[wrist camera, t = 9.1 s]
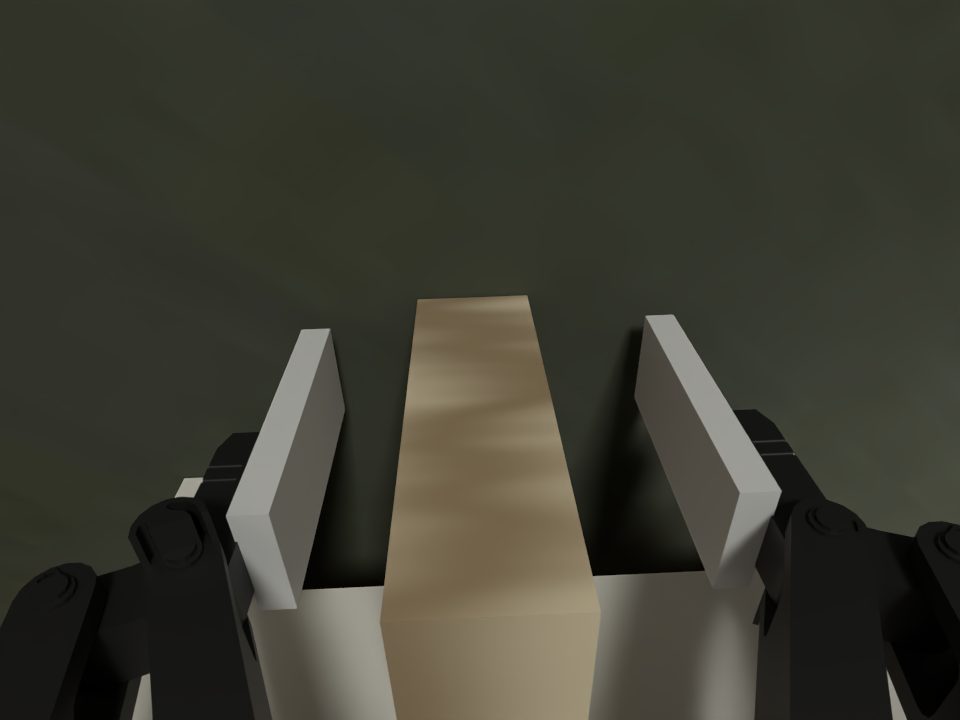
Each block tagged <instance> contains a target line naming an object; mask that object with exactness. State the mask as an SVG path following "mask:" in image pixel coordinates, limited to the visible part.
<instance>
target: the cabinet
mask: <svg viewBox="0 0 960 720" xmlns="http://www.w3.org/2000/svg"><path fill="white" fill-rule="evenodd" d="M793 454H794V453H793ZM202 482H203V478H184V480H183V482H182V484H181V486H180V488H179V490H178V492H177V494H176V496H175V498H176V497H194V496H195V494H196V492H197V490H198V488H199V486H200V483H202ZM593 580H594V584H595V588H596V593H597V597H598V601H599V605H600V610H601V616H600V624H599V633H598V641H597V650H596V658H595V667H594V675H593V683H592V692H591V700H590V709H589V717H588V720H754V717H755V698H756V678H757V659H758V640H759V625H755V624H752V623H753V620H754V617H755V614H756V611H757V609H758V606H759V603H760V600H761V597H762V595H763V592H764V589H765V586H764V583H763V581H762V579H761V577H760V575H759V573H758V571H757V569H755V572H754V575H753V578H752V581H751V584H750V587H742V588H721V589H713V588H712V586H711V583H710V581H709V578H708V576H707V574H706V571H693V572H672V573H651V574H630V575H608V576H593ZM383 591H384V586H374V587H353V588H332V589H311V590H302V591H301V595H300V599H299V604H298V608H297V609H279V610H259V607H258V604H257V602H256V599H255V596H254V594H253V597H252V601H251V604H250V607H249V610H248V613H247V614H248V617H249V620H250V622H251V625H252V629H253V634H254V638H255V643H256V647H257V652H258V657H259V661H260V666H261V670H262V675H263V679H264V684H265V688H266V693H267V697H268V702H269V706H270V711H271V716H272V720H397V718H396V712H395V707H394V701H393V695H392V689H391V684H390V678H389V672H388V666H387V661H386V655H385V649H384V643H383V638H382V632H381V626H380V616H381V608H382V599H383ZM887 677H888V685H889V693H890V700H891V708H892V716H893V720H907V719H906V716H905V714H904V711H903V709H902V706H901V704H900V701H899V699H898V696H897V694H896V691H895V689H894V686H893V684H892V681H891V679H890V676H889V674H888V671H887ZM132 720H153V717H152V701H151V684H150V674H147V675H144V676H142V678H141V683H140V687H139V691H138V696H137V700H136V704H135V709H134V713H133V718H132Z"/></svg>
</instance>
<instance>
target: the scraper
mask: <svg viewBox="0 0 960 720" xmlns="http://www.w3.org/2000/svg"><path fill="white" fill-rule="evenodd" d="M600 616H601V610H600V605H599V601H598V597H597V593H596V588H595V584H594V580H593V575H592V571H591V567H590V563H589V558H588V554H587V550H586V545H585V541H584V537H583V533H582V528H581V524H580V520H579V515H578V511H577V507H576V503H575V498H574V494H573V490H572V485H571V481H570V477H569V473H568V468H567V464H566V460H565V455H564V451H563V447H562V443H561V438H560V434H559V430H558V425H557V421H556V417H555V413H554V408H553V404H552V400H551V395H550V391H549V387H548V383H547V378H546V374H545V370H544V365H543V361H542V357H541V353H540V348H539V344H538V340H537V335H536V331H535V327H534V323H533V318H532V314H531V310H530V305H529V301H528V297H527V295H525V296H499V297H473V298H447V299H421V300H418V301H417V309H416V318H415V327H414V335H413V344H412V352H411V361H410V369H409V378H408V386H407V395H406V403H405V412H404V420H403V429H402V437H401V446H400V454H399V463H398V471H397V480H396V488H395V497H394V506H393V514H392V523H391V531H390V540H389V548H388V557H387V565H386V574H385V582H384V591H383V599H382V608H381V616H380V626H381V632H382V638H383V643H384V649H385V655H386V661H387V666H388V672H389V678H390V684H391V689H392V695H393V701H394V707H395V712H396V718H397V720H588V717H589V709H590V700H591V692H592V683H593V675H594V667H595V658H596V650H597V641H598V633H599V624H600Z"/></svg>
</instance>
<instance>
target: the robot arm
mask: <svg viewBox="0 0 960 720" xmlns="http://www.w3.org/2000/svg"><path fill="white" fill-rule="evenodd" d="M634 398H635V400H636V403H637V405H638V408H639V410H640V413H641V415H642V418H643V420H644V422H645V425H646V427H647V430H648V432H649V435H650V437H651V440H652V442H653V444H654V447H655V449H656V452H657V454H658V457H659V459H660V461H661V464H662V466H663V469H664V471H665V474H666V476H667V479H668V481H669V483H670V486H671V488H672V491H673V493H674V496H675V498H676V500H677V503H678V505H679V508H680V510H681V513H682V515H683V518H684V520H685V522H686V525H687V527H688V530H689V532H690V535H691V537H692V539H693V542H694V544H695V547H696V549H697V552H698V554H699V557H700V559H701V561H702V564H703V566H704V569H705V571H706V574H707V576H708V578H709V581H710V583H711V586H712V588H713V589H721V588H742V587H750V584H751V581H752V578H753V575H754V572H755V569H757V571H758V573H759V575H760V577H761V579H762V581H763V583H764V586H765V589H764V592H763V595H762V597H761V600H760V603H759V606H758V609H757V611H756V614H755V617H754V620H753V623H752V624H755V625H759V640H758V659H757V678H756V698H755V717H754V720H893V716H892V708H891V700H890V693H889V685H888V677H887V671H888V674H889V676H890V679H891V681H892V684H893V686H894V689H895V691H896V694H897V696H898V699H899V701H900V704H901V706H902V709H903V711H904V714H905V716H906V719H907V720H960V525H957V524H952V523H948V522H943V521H940V522H928V523H926V524H924V525H922V526H920V527H919V529H918V531H917V533H916V535H915V537H909V536H904V535H899V534H894V533H889V532H884V531H879V530H875V529H871V528H867V527H866V525H865V523H864V522H863V521H862V520H861V519H860V518H859V517H858V516H857V515H856V514H855V513H854V512H852V511H851V510H849V509H847V508H846V507H844V506H843V505H840V504H837V503H834V502H832V501H829V500H826V498H825V497H824V495H823V494H822V492H821V491H820V489H819V488H818V486H817V485H816V484H815V482H814V481H813V479H812V478H811V476H810V475H809V473H808V472H807V470H806V469H805V468H804V466H803V465H802V463H801V462H800V460H799V459H798V457H797V456H796V455H794V454H793V450H792V449H791V447H790V446H789V444H788V443H787V442H785V438H784V437H783V436H782V434H781V433H780V431H779V430H778V428H777V427H776V425H775V424H774V423H773V422H772V421H770V420H769V419H768V418H766V417H765V416H764V415H762V414H761V413H760V412H758V411H757V410H756V409H755V410H732V409H731V408H730V406H729V404H728V403H727V401H726V400H725V398H724V396H723V395H722V393H721V391H720V390H719V388H718V387H717V385H716V383H715V382H714V380H713V378H712V377H711V375H710V374H709V372H708V370H707V369H706V367H705V365H704V364H703V362H702V361H701V359H700V357H699V356H698V354H697V352H696V351H695V349H694V348H693V346H692V344H691V343H690V341H689V339H688V338H687V336H686V335H685V333H684V331H683V330H682V328H681V326H680V325H679V323H678V321H677V320H676V318H675V317H674V315H654V316H645V322H644V329H643V337H642V344H641V351H640V359H639V366H638V373H637V380H636V388H635V395H634ZM344 412H345V406H344V401H343V395H342V390H341V385H340V379H339V374H338V368H337V363H336V357H335V352H334V346H333V341H332V336H331V330H330V329H308V330H301V333H300V335H299V338H298V340H297V343H296V345H295V348H294V350H293V352H292V355H291V357H290V360H289V362H288V365H287V367H286V370H285V372H284V375H283V377H282V379H281V382H280V384H279V387H278V389H277V392H276V394H275V397H274V399H273V401H272V404H271V406H270V409H269V411H268V414H267V416H266V419H265V421H264V424H263V426H262V428H261V431H260V432H252V433H233V434H232V435H231V436H230V437H229V438H228V439H227V440H226V441H225V442H224V443H223V444H222V445H221V446H219V447H218V448H217V450H216V452H215V454H214V456H213V459H212V461H211V463H210V465H209V469H207V471H206V473H205V475H204V477H203V482H202V483H200V486H199V488H198V490H197V492H196V494H195V496H194V497H176V498H171V499H166V500H164V501H162V502H160V503H157V504H155V505H153V506H151V507H150V508H149V509H147V510H146V511H145V512H143V513H142V514H141V515H139V516H138V518H137V519H136V520H135V522H134V523H133V524H132V526H131V528H130V532H129V536H128V538H129V540H130V542H131V544H132V546H133V548H134V550H135V552H136V554H137V556H138V558H139V560H140V562H141V563H139V564H136V565H133V566H131V567H127V568H124V569H121V570H117V571H114V572H110V573H107V574H104V575H100V576H97V575H96V574H95V572H94V571H93V569H92V567H91V566H88V565H85V564H83V563H66V564H63V565H60V566H56V567H53V568H50V569H48V570H47V571H45V572H43V573H41V574H39V575H38V576H36V577H34V578H33V579H32V580H31V581H30V582H29V583H27V584H26V585H25V586H24V587H23V588H22V589H21V590H20V591H19V593H18V594H17V596H16V597H15V599H14V600H13V602H12V604H11V606H10V608H9V610H8V612H7V615H6V617H5V619H4V621H3V623H2V626H1V628H0V720H132V718H133V713H134V709H135V704H136V700H137V696H138V691H139V687H140V683H141V678H142V676H144V675H147V674H150V684H151V701H152V717H153V720H272V716H271V711H270V706H269V702H268V697H267V693H266V688H265V684H264V679H263V675H262V670H261V666H260V661H259V657H258V652H257V647H256V643H255V638H254V634H253V629H252V625H251V622H250V620H249V617H248V614H247V613H248V610H249V607H250V604H251V601H252V597H253V594H254V596H255V599H256V602H257V604H258V607H259V610H279V609H297V608H298V604H299V599H300V595H301V591H302V587H303V583H304V579H305V574H306V570H307V566H308V562H309V558H310V554H311V549H312V545H313V541H314V537H315V533H316V529H317V524H318V520H319V516H320V512H321V508H322V504H323V499H324V495H325V491H326V487H327V483H328V479H329V475H330V470H331V466H332V462H333V458H334V454H335V450H336V445H337V441H338V437H339V433H340V429H341V425H342V420H343V416H344Z"/></svg>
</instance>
